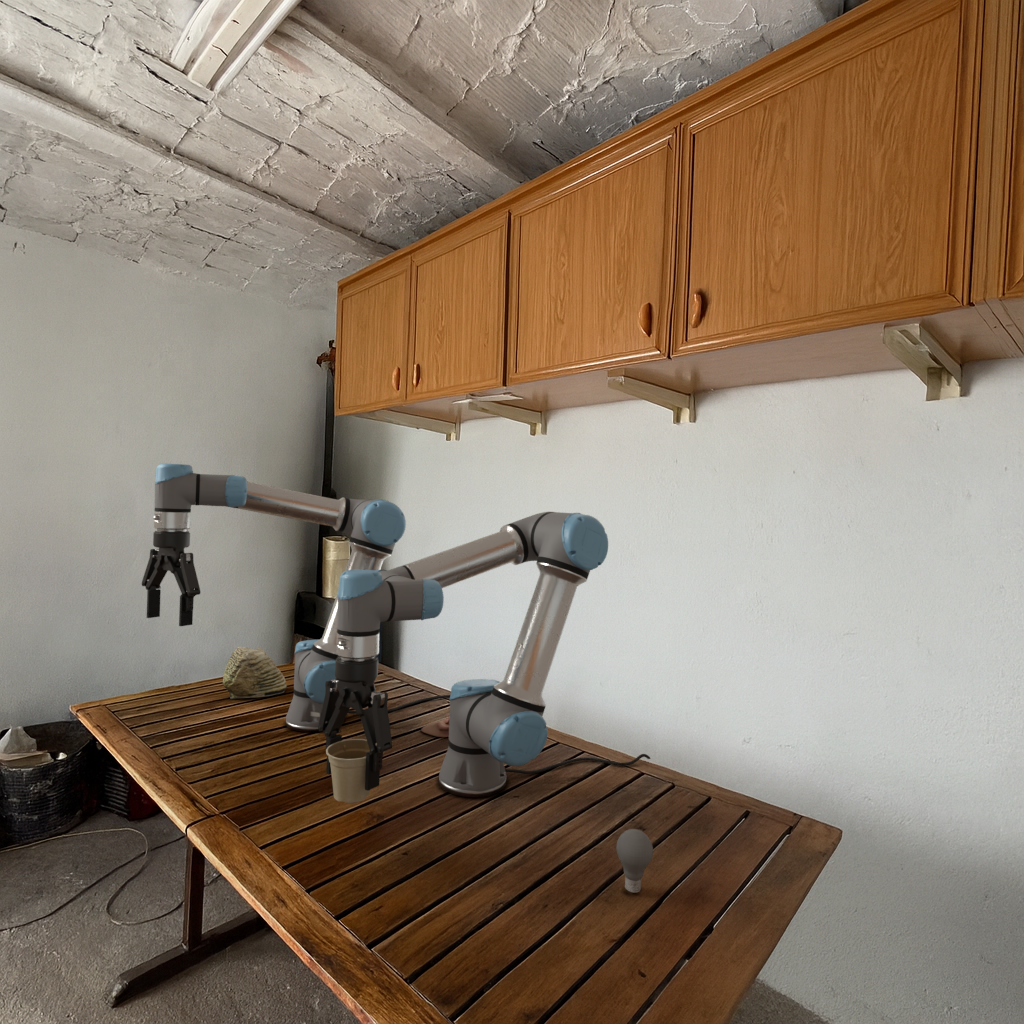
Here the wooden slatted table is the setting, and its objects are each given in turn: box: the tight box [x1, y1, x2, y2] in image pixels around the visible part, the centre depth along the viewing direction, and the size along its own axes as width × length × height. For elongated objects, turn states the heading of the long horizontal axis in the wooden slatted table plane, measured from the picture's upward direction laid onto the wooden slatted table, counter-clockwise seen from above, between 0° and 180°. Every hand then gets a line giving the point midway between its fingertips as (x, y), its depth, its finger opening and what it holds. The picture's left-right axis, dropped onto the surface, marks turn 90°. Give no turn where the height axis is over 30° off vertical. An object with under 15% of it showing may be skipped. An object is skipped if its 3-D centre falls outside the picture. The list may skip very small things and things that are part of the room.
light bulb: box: [615, 828, 654, 894], centre depth 106 cm, size 6×6×10 cm
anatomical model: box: [420, 716, 450, 738], centre depth 175 cm, size 13×4×12 cm
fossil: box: [222, 646, 288, 699], centre depth 198 cm, size 9×18×15 cm, turn 132°
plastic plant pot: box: [325, 738, 377, 804], centre depth 114 cm, size 9×9×9 cm
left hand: (169, 621), depth 147 cm, fingers open, 13 cm apart
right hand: (352, 779), depth 114 cm, fingers closed on plastic plant pot, 9 cm apart
